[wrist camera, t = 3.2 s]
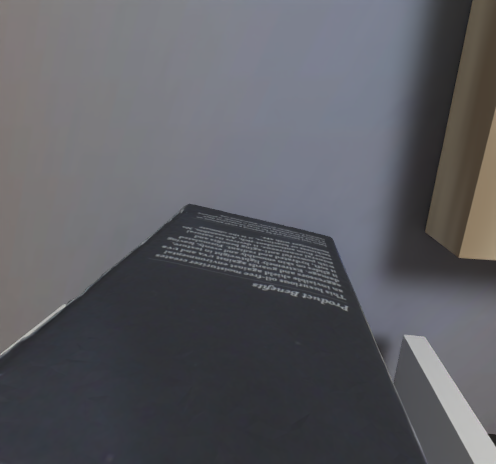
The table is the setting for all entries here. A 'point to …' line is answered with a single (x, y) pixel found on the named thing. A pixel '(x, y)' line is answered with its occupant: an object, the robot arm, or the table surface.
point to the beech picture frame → (470, 148)
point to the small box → (208, 359)
